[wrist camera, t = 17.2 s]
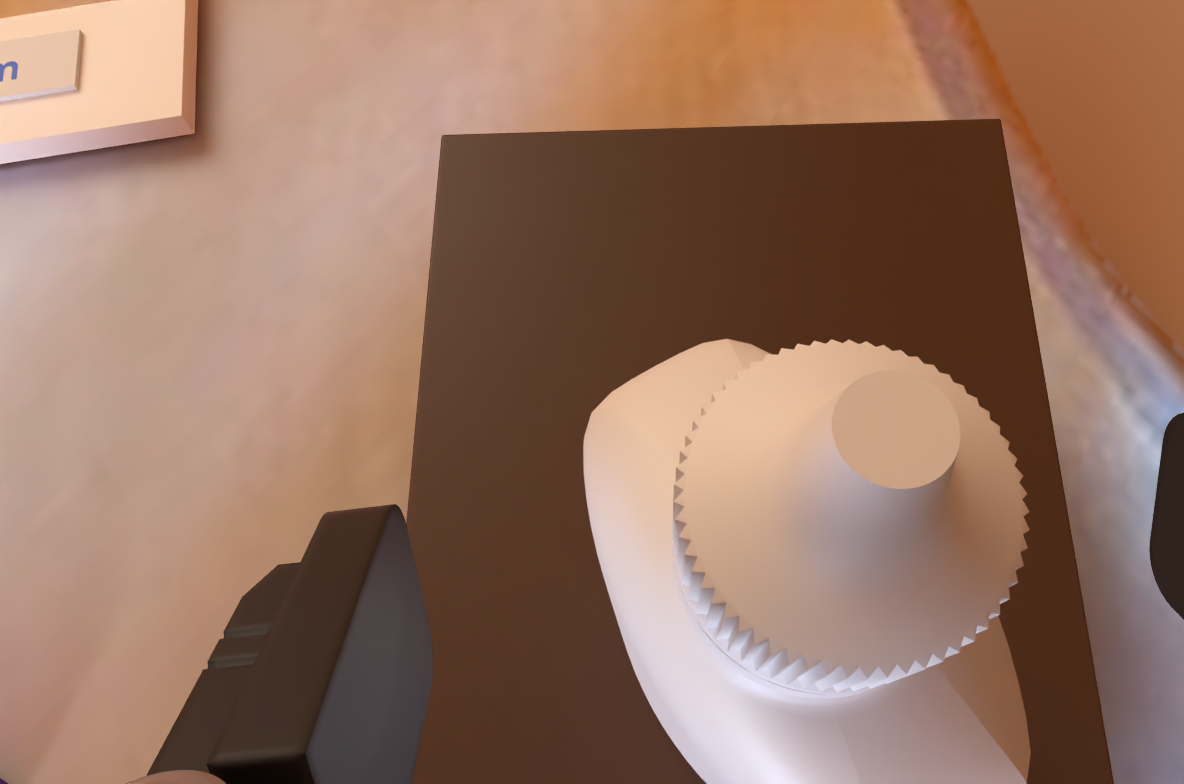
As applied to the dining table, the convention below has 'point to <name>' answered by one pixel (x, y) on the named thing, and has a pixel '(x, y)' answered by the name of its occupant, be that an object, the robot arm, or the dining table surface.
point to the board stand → (657, 333)
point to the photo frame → (96, 77)
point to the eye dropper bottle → (813, 564)
